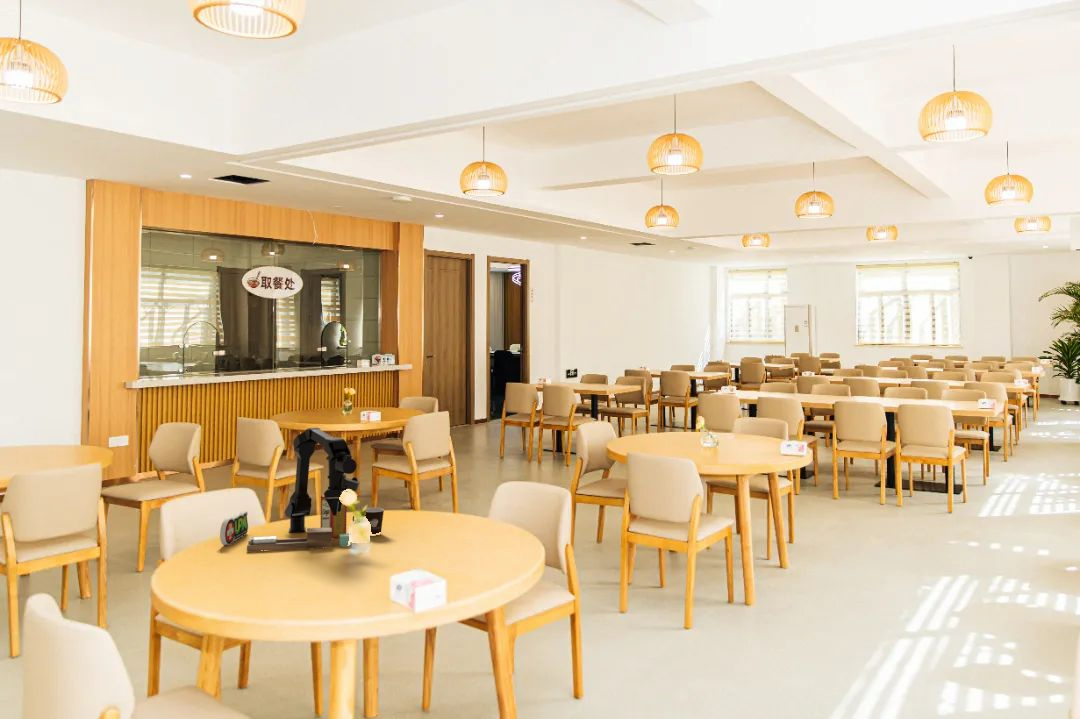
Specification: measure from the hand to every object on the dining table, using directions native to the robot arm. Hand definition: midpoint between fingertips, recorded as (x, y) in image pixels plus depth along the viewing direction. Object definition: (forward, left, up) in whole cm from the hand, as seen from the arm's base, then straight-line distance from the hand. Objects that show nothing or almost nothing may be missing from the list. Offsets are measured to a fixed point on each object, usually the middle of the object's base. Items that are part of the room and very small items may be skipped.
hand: (337, 513), depth 295 cm
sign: (-18, -38, -13) cm, 44 cm away
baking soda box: (-18, -1, -13) cm, 22 cm away
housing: (-3, -17, -13) cm, 21 cm away
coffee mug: (-17, +13, -13) cm, 25 cm away
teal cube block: (-2, +3, -13) cm, 13 cm away
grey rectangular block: (-3, -26, -13) cm, 29 cm away
